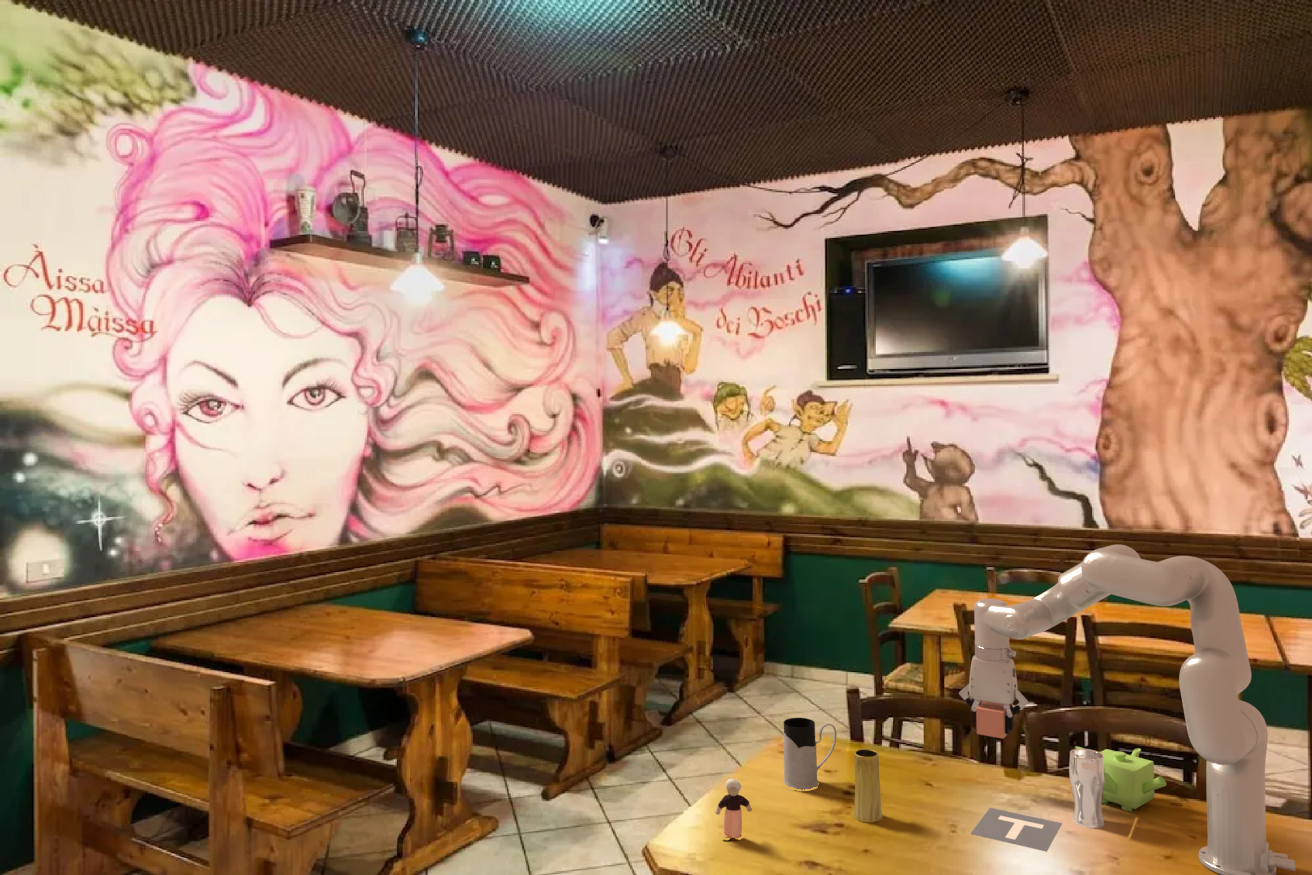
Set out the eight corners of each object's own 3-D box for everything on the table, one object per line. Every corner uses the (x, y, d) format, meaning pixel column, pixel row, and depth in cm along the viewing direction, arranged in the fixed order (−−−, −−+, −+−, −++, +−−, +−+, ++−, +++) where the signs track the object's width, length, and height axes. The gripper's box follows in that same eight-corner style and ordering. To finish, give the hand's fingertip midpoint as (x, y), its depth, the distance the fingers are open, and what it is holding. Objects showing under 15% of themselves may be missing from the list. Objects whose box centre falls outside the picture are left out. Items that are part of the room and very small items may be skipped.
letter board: (1062, 824, 194) (1062, 822, 194) (1046, 853, 181) (1046, 851, 181) (989, 809, 202) (989, 807, 202) (970, 835, 190) (970, 833, 190)
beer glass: (1110, 831, 190) (1109, 760, 190) (1074, 829, 191) (1073, 759, 191) (1101, 817, 197) (1099, 748, 196) (1066, 815, 198) (1065, 747, 198)
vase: (850, 820, 199) (849, 755, 199) (858, 809, 204) (856, 746, 204) (878, 825, 196) (876, 759, 196) (885, 813, 202) (883, 750, 201)
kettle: (1075, 788, 212) (1074, 740, 212) (1138, 788, 211) (1137, 741, 211) (1100, 815, 197) (1099, 764, 197) (1168, 816, 196) (1167, 765, 196)
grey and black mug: (776, 780, 222) (774, 719, 222) (828, 771, 227) (826, 712, 226) (792, 793, 214) (790, 730, 214) (846, 784, 218) (844, 722, 218)
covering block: (1010, 730, 212) (1009, 705, 212) (1003, 738, 207) (1003, 712, 207) (983, 726, 216) (983, 701, 216) (976, 733, 211) (976, 708, 211)
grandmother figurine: (720, 844, 189) (719, 784, 189) (714, 836, 193) (713, 777, 193) (755, 839, 191) (753, 779, 191) (748, 831, 195) (747, 772, 195)
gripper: (1035, 654, 209) (1036, 731, 210) (959, 644, 219) (960, 718, 220) (1027, 661, 203) (1028, 741, 204) (950, 651, 213) (951, 727, 213)
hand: (993, 728), depth 212 cm, fingers closed on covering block, 6 cm apart
